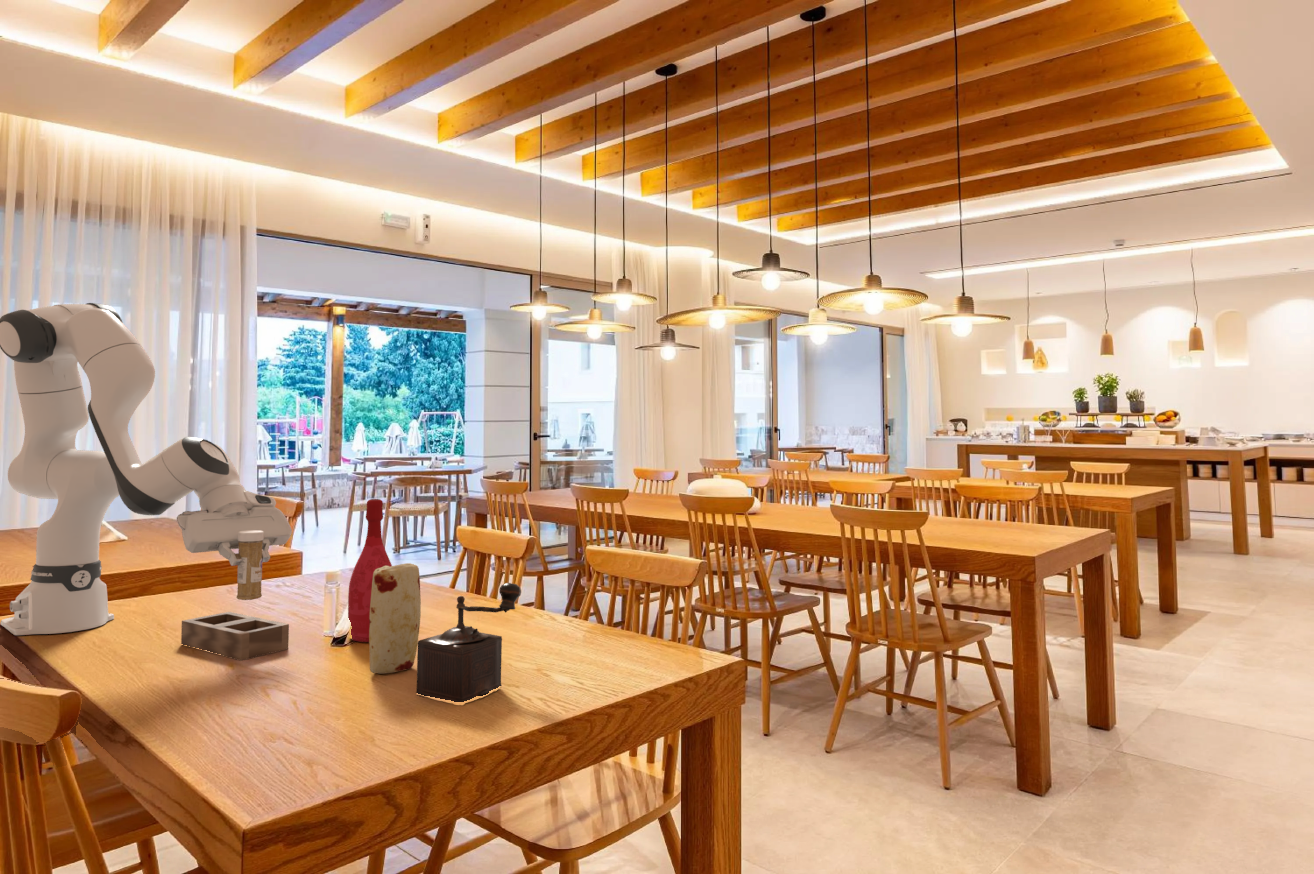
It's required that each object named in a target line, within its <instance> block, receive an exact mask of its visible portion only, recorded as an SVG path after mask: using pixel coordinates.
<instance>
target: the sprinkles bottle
mask: <svg viewBox="0 0 1314 874" xmlns="http://www.w3.org/2000/svg"><path fill="white" fill-rule="evenodd" d="M263 539H264V532H263V531H259V530H246V531H240V532H238V541H239V542H238V543H239V549H238V553H239V554H240V557H241V558H242V562H241V563H240V565H237V574H236V575H237V579H236V580H237V591H236V592H237V595H236V599H237V600H239V601H240V600H241V601H248V600H249V601H254V600H257V599H260V598H262V596H263V595H262V580H263V562H262V543H263Z"/></svg>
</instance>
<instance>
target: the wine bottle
mask: <svg viewBox="0 0 1314 874" xmlns="http://www.w3.org/2000/svg"><path fill="white" fill-rule="evenodd" d="M383 505H384V502H383V500H382V499H380V498H371V499H368V500H367V501H366V509H365V510H366V511H365V512H366V514H365V519H366V521H367V532H366V537H365V542H364V546H363V547H362V548H363V549H362V550H361V553H360V555H359V557H358V559H357V562H356V563H355V565H354V567H353V570H352V573H351V576H350V580H349V583H348V598H347V617H348V618H349V620H350V622H351V626H352V629H351V635H352V639H353V640H352V639H351V640H352V641H354V642H358V643H369V629H370V622H369V618H370V603H371V591H372V581H373V573H374V571H375V570H376V569H378V568H381V567H383V566H389V567H391V566H393V564H392V562H391V559H390V558H389V555H388V553H387V551H386V548H385V546H384V542H383V537H382V536H383V535H382V520H383V519H384V512H383V510H384V509H383ZM348 618H347V619H348Z"/></svg>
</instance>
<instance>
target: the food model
mask: <svg viewBox="0 0 1314 874" xmlns="http://www.w3.org/2000/svg"><path fill="white" fill-rule="evenodd" d="M421 597H422V596H421V577H420V568H419V566H418V565H416V564H414V563H411V562H407V563H400V564H396V565H392V566H391V567H389V566H383V567H381V568H378V569H376V570H375V571H374V573H373V581H372V591H371V603H370V618H369V622H370V629H369V642H368V644H369V669H370V672H371V673H373V674H375V673H377V674H378V675H379V674H390V673H397V672H402V671H407V670H410V669H412V668H413V666H414V664H415V661H416V657H417V656H416V655H417V652H418V641H419V636H420V626H421V613H422V611H421V607H422V606H421V604H422V601H421V599H422V598H421Z"/></svg>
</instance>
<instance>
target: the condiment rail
mask: <svg viewBox="0 0 1314 874" xmlns="http://www.w3.org/2000/svg"><path fill="white" fill-rule="evenodd" d="M289 625H290V624H289V623H285V622H279V621H277V620H276V621H275V620H271V619H267V618H261V617H255V616H252V615H246V614H243V613H237V612H232V611H225V612H220V613H216V614H215V613H214V614H210V615H205V616H200V617H194V618H190V619H185V620H184V619H183V620H181V634H180V635H181V639H180V640H181V641H180V645H181V644H183V645H187V646H190V647H195V648H199V649H202V650H207V651H210V652H213V653H212V654H214V653H217V654H221V655H224V656H223V657H225V656H227V657H226V658H229V657H232V658H231V659H233V658H235V660H237V659H238V660H239V661H245V660H250V659H253V657H254V658H257V657H261V656H265V655H269V654H274V653H278V652H281V651H285V650H289V641H290V640H289V637H290V635H289V634H290V633H289V632H290V629H289V627H290V626H289ZM190 647H189V648H190ZM202 650H201V651H202ZM210 652H209V653H210ZM217 654H216V655H217ZM221 655H220V656H221ZM249 658H250V659H249Z"/></svg>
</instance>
